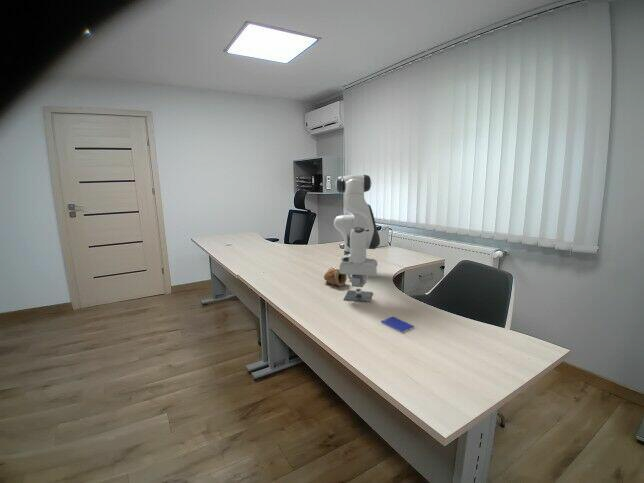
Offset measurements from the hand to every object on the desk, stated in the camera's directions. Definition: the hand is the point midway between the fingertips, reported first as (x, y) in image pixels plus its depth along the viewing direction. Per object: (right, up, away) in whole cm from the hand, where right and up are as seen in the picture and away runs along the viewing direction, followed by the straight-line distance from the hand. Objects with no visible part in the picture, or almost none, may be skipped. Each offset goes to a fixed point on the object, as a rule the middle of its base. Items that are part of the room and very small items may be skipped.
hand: (357, 282), depth 178 cm
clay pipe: (-11, -4, +27) cm, 29 cm away
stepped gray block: (0, -2, 0) cm, 2 cm away
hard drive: (+14, -16, -32) cm, 38 cm away
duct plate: (+1, -8, +3) cm, 9 cm away
